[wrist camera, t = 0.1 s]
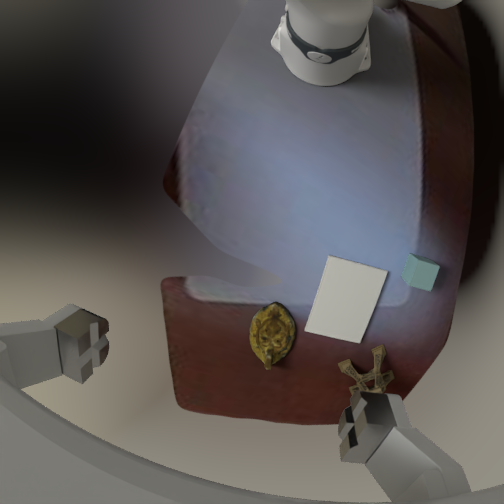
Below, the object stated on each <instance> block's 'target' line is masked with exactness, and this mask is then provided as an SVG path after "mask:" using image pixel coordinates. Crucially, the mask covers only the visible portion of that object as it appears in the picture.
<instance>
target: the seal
mask: <svg viewBox="0 0 504 504" xmlns="http://www.w3.org/2000/svg"><path fill="white" fill-rule="evenodd" d="M249 339H250V344H251V347H252V349H253V351H254V352H255V354H256V355H257V356H258V358H259V359H260V360H261V361H262V362H263V363H264V364H265V368H266V369H271V367H272V364H274V363H275V362H277V361H279V360H280V359H282V358H283V357H285V356H286V354H287V353H288V352H289V351H290V350H291V347H292V344H293V341H294V339H295V324H294V321H293V319H292V318H291V315H290V314H289V313H288V311H287V309H286V308H285V307H284V306H283V305H282V304H280V303H278V302H273V303H271V304H270V305H268V306H266V307H263V308H262V309H260V310H259V311H258V312H257V313H256V315H255V316H254V317H253V319H252V322H251V326H250V333H249Z"/></svg>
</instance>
